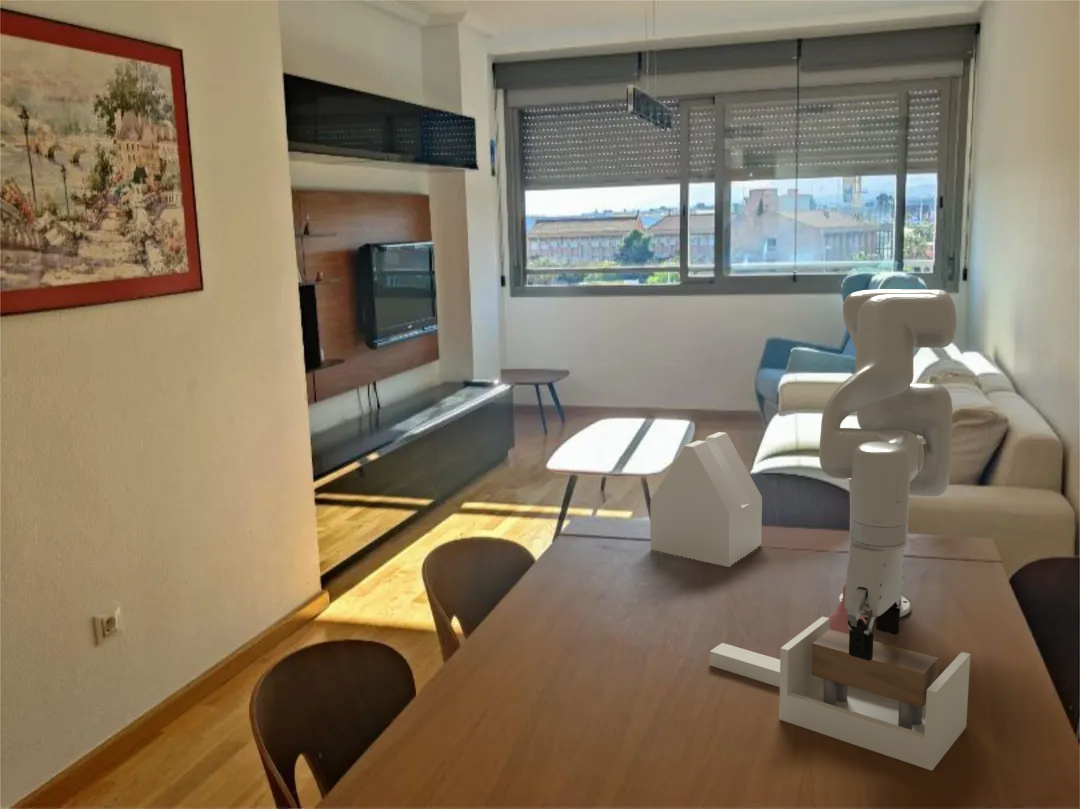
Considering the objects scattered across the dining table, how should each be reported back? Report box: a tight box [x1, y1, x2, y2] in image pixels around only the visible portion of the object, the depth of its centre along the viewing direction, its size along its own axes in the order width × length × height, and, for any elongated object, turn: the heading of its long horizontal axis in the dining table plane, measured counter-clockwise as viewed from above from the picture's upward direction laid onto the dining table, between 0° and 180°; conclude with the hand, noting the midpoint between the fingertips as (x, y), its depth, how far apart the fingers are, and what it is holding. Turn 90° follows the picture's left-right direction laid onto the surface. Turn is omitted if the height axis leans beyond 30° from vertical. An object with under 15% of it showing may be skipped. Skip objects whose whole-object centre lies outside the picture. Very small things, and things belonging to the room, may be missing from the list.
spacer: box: [709, 642, 780, 688], centre depth 157 cm, size 4×14×2 cm, turn 50°
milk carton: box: [649, 431, 763, 568], centre depth 213 cm, size 19×15×25 cm
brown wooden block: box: [811, 630, 940, 708], centre depth 139 cm, size 6×16×5 cm, turn 50°
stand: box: [778, 616, 971, 771], centre depth 139 cm, size 14×22×11 cm, turn 50°
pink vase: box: [826, 584, 867, 634], centre depth 161 cm, size 8×8×12 cm
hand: (874, 644), depth 139 cm, fingers open, 9 cm apart
